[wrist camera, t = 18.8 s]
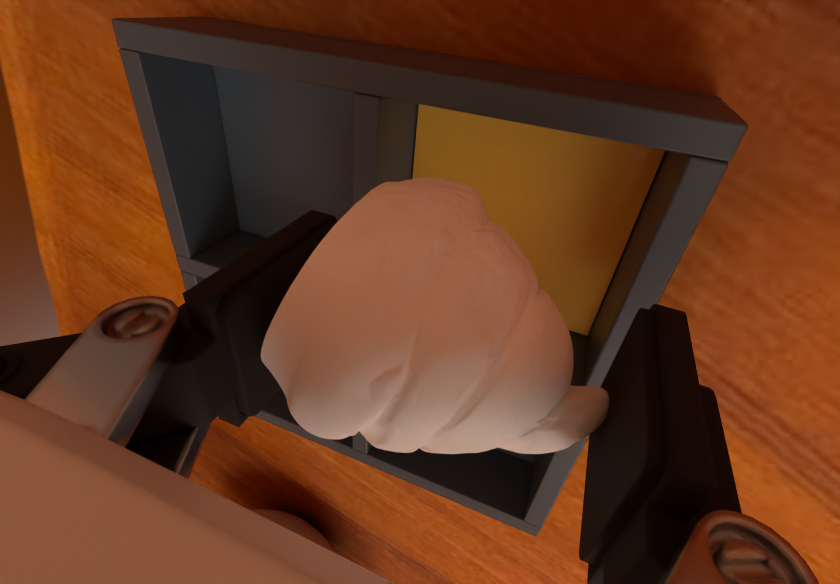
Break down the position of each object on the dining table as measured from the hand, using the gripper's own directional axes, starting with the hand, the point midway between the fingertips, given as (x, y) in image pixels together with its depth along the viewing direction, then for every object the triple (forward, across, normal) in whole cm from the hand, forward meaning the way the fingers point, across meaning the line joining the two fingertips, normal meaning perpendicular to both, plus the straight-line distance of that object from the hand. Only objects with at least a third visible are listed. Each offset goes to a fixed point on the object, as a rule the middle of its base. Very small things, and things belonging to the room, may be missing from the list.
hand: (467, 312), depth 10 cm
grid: (+7, +4, +4) cm, 9 cm away
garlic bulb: (+1, 0, 0) cm, 1 cm away
